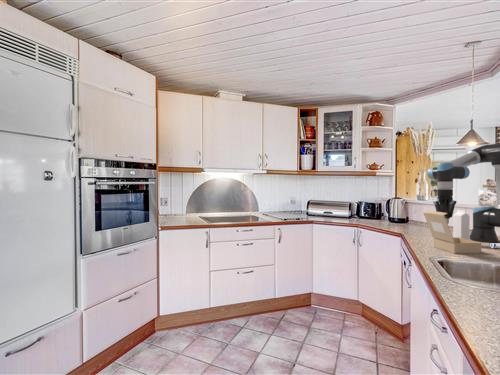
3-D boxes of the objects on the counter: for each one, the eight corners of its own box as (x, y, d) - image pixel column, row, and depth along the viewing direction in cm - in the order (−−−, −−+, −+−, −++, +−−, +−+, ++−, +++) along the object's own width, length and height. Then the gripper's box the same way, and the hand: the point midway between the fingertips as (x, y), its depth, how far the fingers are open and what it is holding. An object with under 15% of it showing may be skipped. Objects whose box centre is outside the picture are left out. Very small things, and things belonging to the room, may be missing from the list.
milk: (460, 243, 187) (461, 209, 186) (469, 245, 181) (469, 210, 180) (452, 243, 186) (453, 209, 185) (461, 245, 180) (461, 210, 179)
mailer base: (458, 246, 177) (458, 237, 177) (481, 253, 161) (481, 242, 161) (433, 247, 176) (433, 237, 175) (454, 253, 160) (454, 243, 159)
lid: (427, 210, 175) (422, 212, 175) (448, 213, 159) (443, 215, 158) (437, 235, 176) (432, 237, 176) (459, 241, 159) (454, 243, 159)
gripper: (450, 188, 171) (450, 228, 172) (429, 189, 170) (429, 228, 170) (460, 189, 164) (460, 230, 164) (439, 189, 163) (438, 230, 163)
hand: (444, 229), depth 167 cm, fingers closed
